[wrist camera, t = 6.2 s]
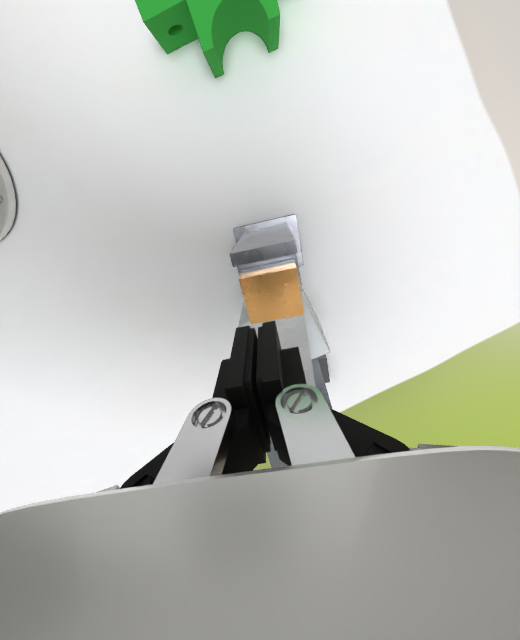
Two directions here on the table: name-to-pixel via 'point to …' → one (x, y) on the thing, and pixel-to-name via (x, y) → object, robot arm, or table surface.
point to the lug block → (267, 244)
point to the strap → (278, 306)
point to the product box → (313, 328)
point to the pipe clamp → (210, 24)
